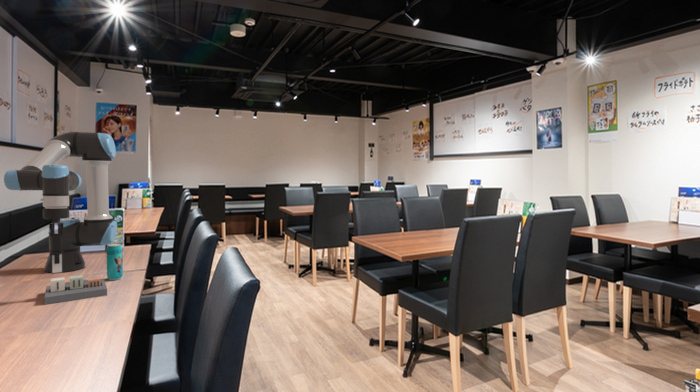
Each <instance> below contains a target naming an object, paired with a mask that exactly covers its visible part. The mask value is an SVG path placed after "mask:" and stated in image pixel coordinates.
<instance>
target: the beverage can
mask: <svg viewBox="0 0 700 392" xmlns="http://www.w3.org/2000/svg"><path fill="white" fill-rule="evenodd" d="M106 246H107V247H106V276H107V279H108V280H109V281H112V282H113V281H119V280H122V277H123V275H124V274H123V271H124V267H123V265H124V264H123V261H124V260H123V246H122V243H112V244H109V245H106Z"/></svg>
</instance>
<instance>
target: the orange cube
mask: <svg viewBox="0 0 700 392" xmlns="http://www.w3.org/2000/svg"><path fill="white" fill-rule="evenodd" d="M101 279H102V278H101V276H96V277H95V276H94V277H87V281H88V288H89V287H96V286H101Z"/></svg>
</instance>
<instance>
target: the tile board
mask: <svg viewBox="0 0 700 392" xmlns="http://www.w3.org/2000/svg"><path fill="white" fill-rule="evenodd" d="M45 287H46V288H45V292H44V293H45V294H44V298H43V299H44V305H53V304H59V303H64V302H65V303H66V302H73V301H78V300H84V299H85V300H86V299H91V298H98V297H105V296H108V287H107V284H106V282H105V279H104V278H101V286H96V287H89V288H88V280H85V281H84V280H83V288H79V289H71V290H70V282H69V283H65V290H64V291H57V292H51V285H46V286H45Z"/></svg>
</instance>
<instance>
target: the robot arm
mask: <svg viewBox="0 0 700 392" xmlns="http://www.w3.org/2000/svg"><path fill="white" fill-rule="evenodd" d="M116 149H117V148H116V144H115V141H114V138H113V137H112V135H110V134H109V133H105V132H104V133H102V132H89V131H88V132H86V131H84V132H83V131H70V132H69V131H68V132H64V133H61V134H58V135H55V136H53V137H52V138H50V139H49V140H47V142H45V144H44V145H43V149H42V150H40V152H38V153H37V154H36V155H35V156H34V157H33V158H32V159H30V160H29V161H28V162H27V163H26V164H25V165H24V166H23V167H22V168H20V169H9V170H7V171H6V172H5V174H4V175H3V183H4V186H5V188H6V189H8V190H11V191H20V192H21V191H42V198H40V199H39V201H40V202H42V207H43V209H42V219H44V220H51V221H52V222H51V223H49V225H48V250H49V252H48V253H49V254H48V256H47V258H46V261H45V265H44V272H46V273H52V274H54V273H64V272H73V271H78V270H82V269H83V268H86V262H85V258H84V257H83V254H82V253H81V247H90V246H91V247H95V246H99V247H100V246H101V247H102V246H107V245H109V244H114V242H115V240H116V237H117V233H118V222H117V221H116V220H114V217H113V216H112V215H111V214H110V207H109V206H110V204H109V203H110V199H109V196H110V195H109V165H110V164H111V163H112V159H114V158H116V155H117V154H116V152H117V151H116ZM73 157H74V158H76V157H77V158H81V161H82V162H83V163H84V164H85V169H86V170H85V171H86V173H85V174H86V203H87V204H86V205H87V206H86V207H87V210H86V211H87V215H86V216H85V217H84V218H83V221H81V219H80V218H73V219H72V218H70V219H68V218H69V217H70V208H69V207H70V192H71V191H72V192H73V191H74V190H77V189H78V188H80V186H81V185H82V181H83V180H82V177H81V176H80V174H78V172H77V173H76V172H75V171H71V170H69V166H68V165H67V164H66V165H62V164H60V163H61V161H63V160H66V159H68V158H73ZM61 219H64V220H61Z"/></svg>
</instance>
